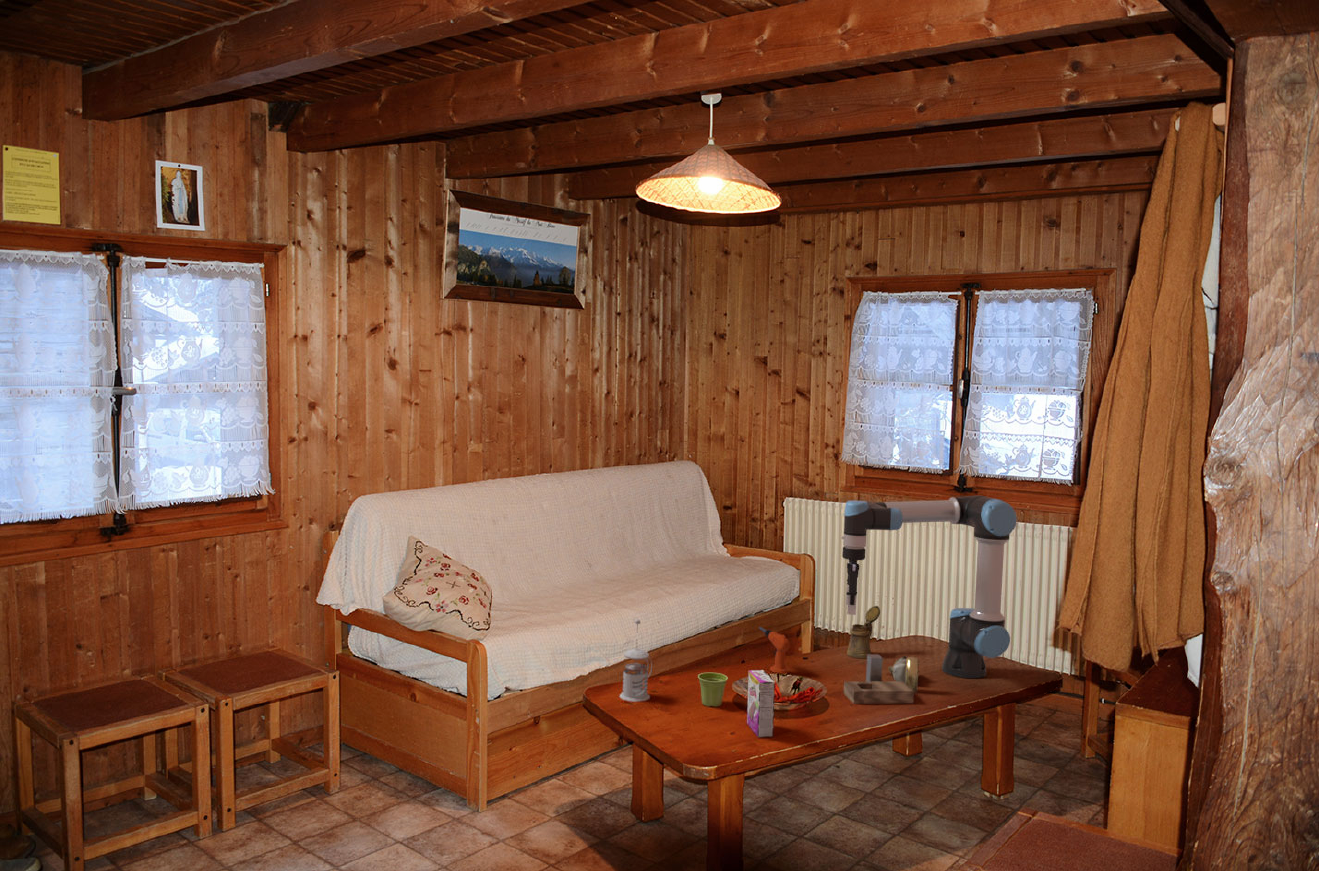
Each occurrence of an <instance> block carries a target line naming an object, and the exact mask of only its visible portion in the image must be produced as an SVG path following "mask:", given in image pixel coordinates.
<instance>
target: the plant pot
mask: <svg viewBox="0 0 1319 871" xmlns="http://www.w3.org/2000/svg"><path fill="white" fill-rule="evenodd" d="M728 677H729V676H727V675H725V674H723V673H719V672H710V671H709V672H701V673H699V674H697V678H698V681H699V685H700V696H701V703H702V705H704V706H706V707H720V706H721V705H722V702H723V697H724V691H725V687H726V686H725V685H726V684H727V681H728V679H729V678H728Z"/></svg>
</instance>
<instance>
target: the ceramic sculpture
mask: <svg viewBox="0 0 1319 871" xmlns="http://www.w3.org/2000/svg"><path fill="white" fill-rule="evenodd" d="M906 658H907V656H906V655H903V656H902V657H900V658H898V659H896V661H895V663H894V664H893V665H892V666H891V665H889V666H888V667H887V668H888V671H889V673H890V674H892V676H893V679H894V681H903V682H904V683H905V675H906ZM919 672H920V670H919V669H918V674H919Z"/></svg>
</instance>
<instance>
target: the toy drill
mask: <svg viewBox="0 0 1319 871" xmlns="http://www.w3.org/2000/svg"><path fill="white" fill-rule="evenodd" d="M758 629H759V631H762V632H763V633H764V635H765V637H767V638H768V640H769V642H770V643H771V644H772V645H773V646H774V648H775V649H776V650H775V652H774V653H773V654H774V665H773V666H770V668H769V671H770V670H771V671H772V672H780V673H788V672H789V671H788V669H787V668H786V664H785V661H786V660H785V659H786V652H787V651H789V649H790V648H791V647H790V646H791V643H790V640H789V639H788V638H787V637H786V636H785V635H784V634H781V633H778V632H777V631H772V630H769V629H767V630H766V629H765V628H763V627H762V626H759V627H758ZM772 672H771V673H772Z"/></svg>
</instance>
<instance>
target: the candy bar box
mask: <svg viewBox="0 0 1319 871" xmlns="http://www.w3.org/2000/svg"><path fill="white" fill-rule="evenodd" d="M747 676H748V677H747V678H748V679H747V680H748V681H747V682H748V683H747V710H746V712H747V713H746V725H747V726H748V727H749V728H750V729H751V730H752V731H753V733H754V734H755V735H756V737H757V738H773V737H774V717H775V714H774V713H775V687H776V682H775V680H773V679H772V677H770V675H769V674H768V673H767V672H766V671H765V670H763V669H754V670H748V675H747Z"/></svg>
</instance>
